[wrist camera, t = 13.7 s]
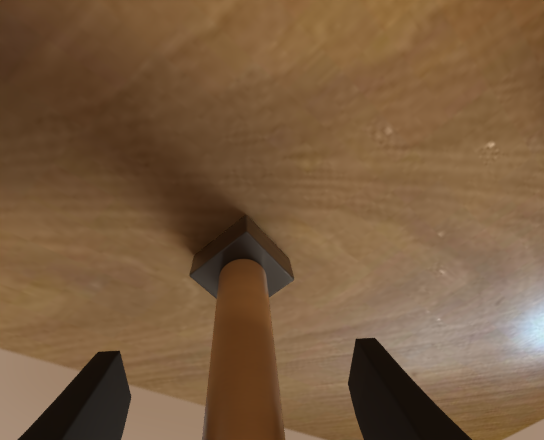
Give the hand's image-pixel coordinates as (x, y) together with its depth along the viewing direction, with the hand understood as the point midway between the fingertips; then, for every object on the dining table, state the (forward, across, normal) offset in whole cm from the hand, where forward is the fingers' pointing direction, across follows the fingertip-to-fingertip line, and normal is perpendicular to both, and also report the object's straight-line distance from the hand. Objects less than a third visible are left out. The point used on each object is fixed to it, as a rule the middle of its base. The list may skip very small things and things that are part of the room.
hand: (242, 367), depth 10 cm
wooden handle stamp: (+6, 0, 0) cm, 6 cm away
